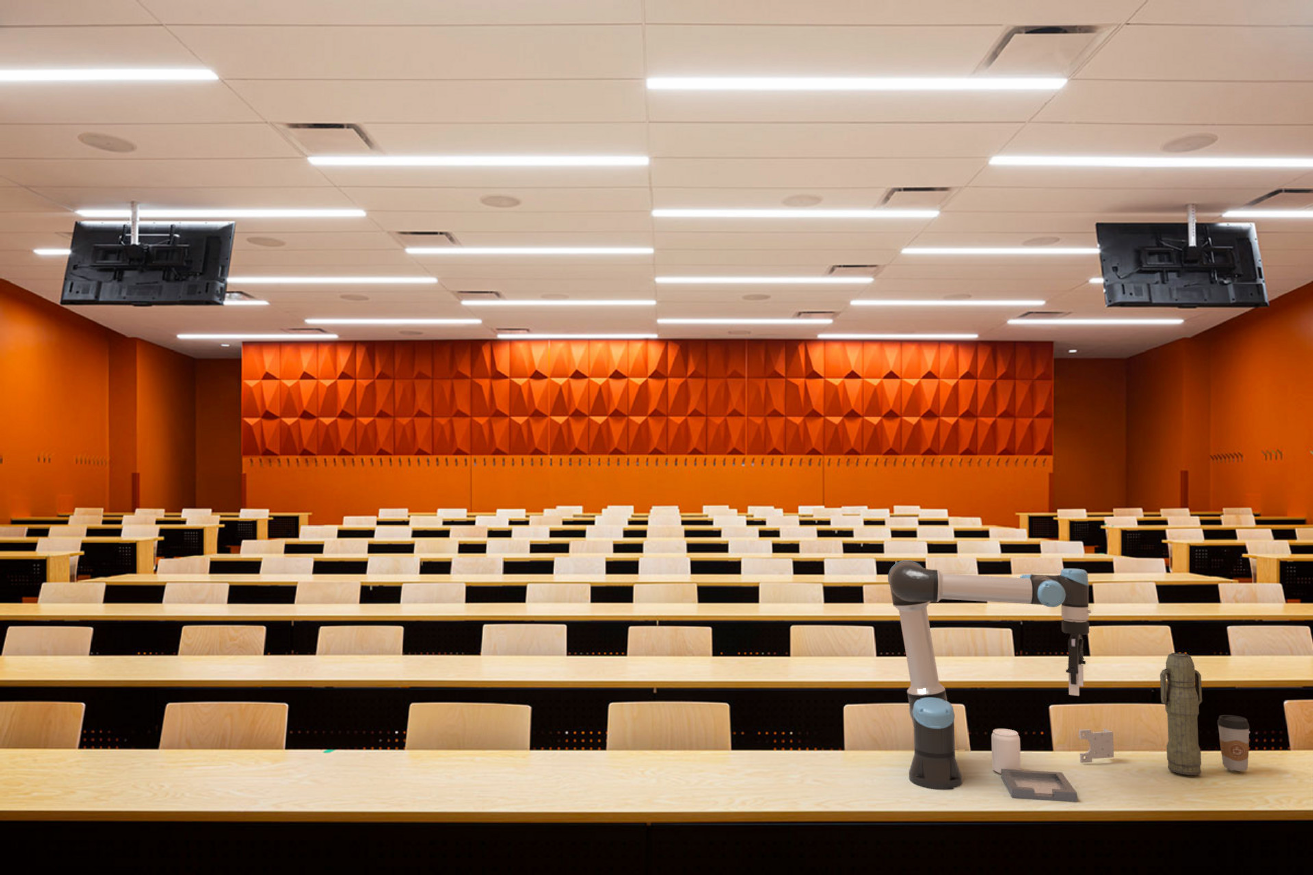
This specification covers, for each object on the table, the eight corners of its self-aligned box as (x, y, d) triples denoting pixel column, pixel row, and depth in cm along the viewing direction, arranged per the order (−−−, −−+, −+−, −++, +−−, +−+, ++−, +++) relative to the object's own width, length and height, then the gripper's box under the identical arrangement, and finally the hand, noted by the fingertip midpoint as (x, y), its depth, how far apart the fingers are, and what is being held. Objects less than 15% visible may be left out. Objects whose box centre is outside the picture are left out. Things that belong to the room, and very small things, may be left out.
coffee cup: (1222, 770, 263) (1220, 720, 264) (1216, 761, 270) (1214, 713, 271) (1254, 773, 260) (1252, 723, 260) (1247, 764, 267) (1245, 715, 268)
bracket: (1105, 756, 277) (1103, 724, 278) (1114, 760, 273) (1112, 728, 274) (1073, 758, 276) (1071, 726, 276) (1081, 762, 272) (1080, 730, 272)
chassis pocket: (1012, 797, 243) (1011, 788, 243) (1001, 777, 259) (1000, 768, 259) (1077, 801, 239) (1076, 792, 239) (1062, 780, 256) (1061, 772, 256)
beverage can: (1021, 769, 266) (1020, 729, 267) (1020, 777, 259) (1019, 737, 259) (993, 765, 269) (992, 727, 270) (991, 774, 262) (990, 734, 263)
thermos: (1213, 773, 260) (1208, 656, 262) (1177, 775, 258) (1173, 658, 260) (1191, 764, 269) (1186, 650, 270) (1156, 766, 267) (1152, 652, 269)
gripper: (1085, 627, 251) (1086, 700, 250) (1092, 615, 272) (1093, 683, 271) (1056, 624, 255) (1058, 697, 254) (1066, 613, 276) (1067, 680, 275)
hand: (1076, 690), depth 263 cm, fingers open, 13 cm apart
